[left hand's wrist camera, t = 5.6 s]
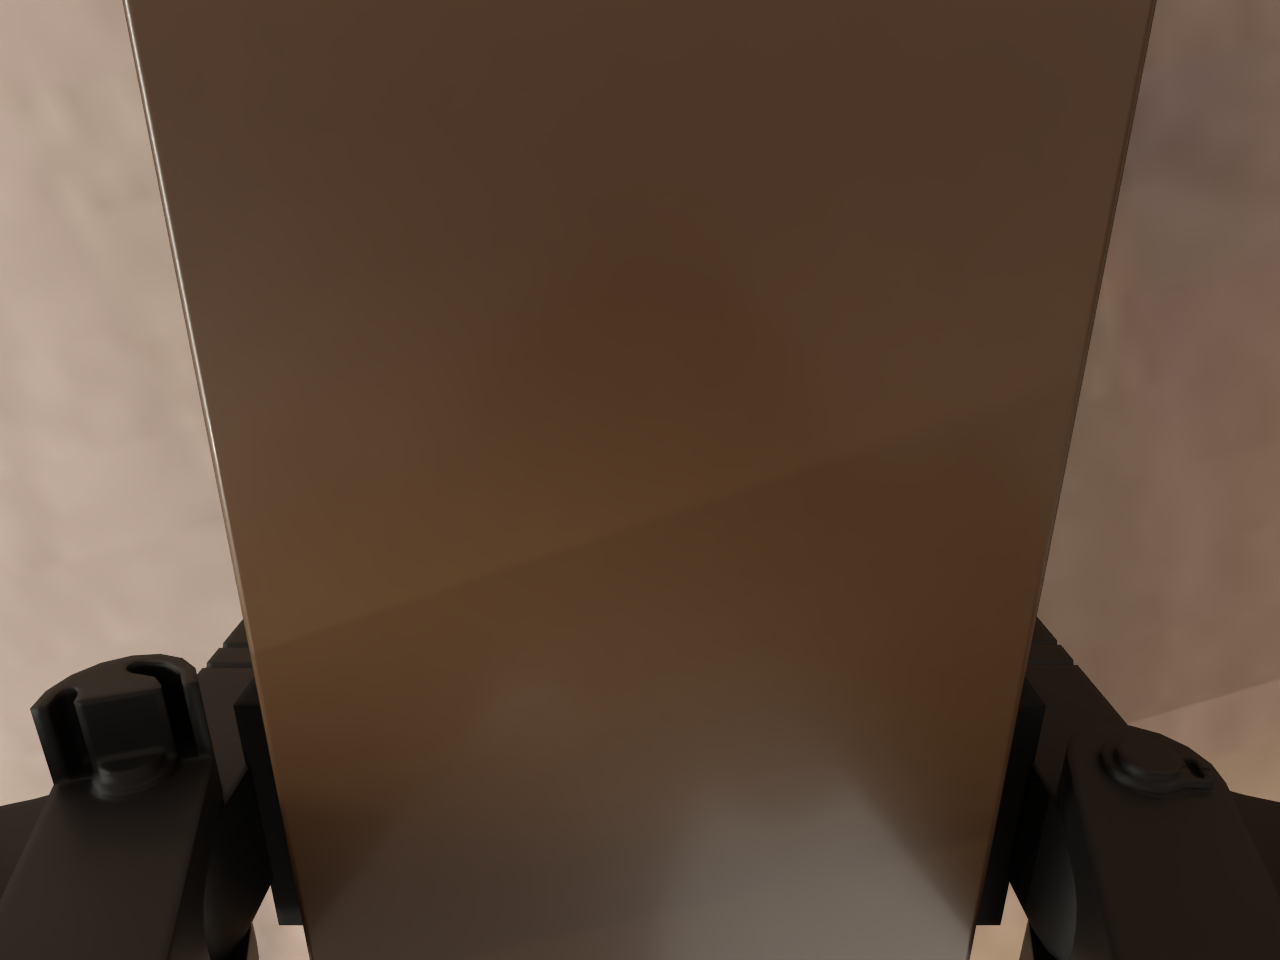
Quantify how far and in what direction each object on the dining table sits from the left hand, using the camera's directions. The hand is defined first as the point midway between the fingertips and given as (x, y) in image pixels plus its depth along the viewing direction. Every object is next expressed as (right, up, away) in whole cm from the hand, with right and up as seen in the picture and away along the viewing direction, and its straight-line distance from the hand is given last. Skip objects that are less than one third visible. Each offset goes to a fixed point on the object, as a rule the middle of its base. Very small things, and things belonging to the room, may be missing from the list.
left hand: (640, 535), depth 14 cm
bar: (0, +19, -7) cm, 20 cm away
